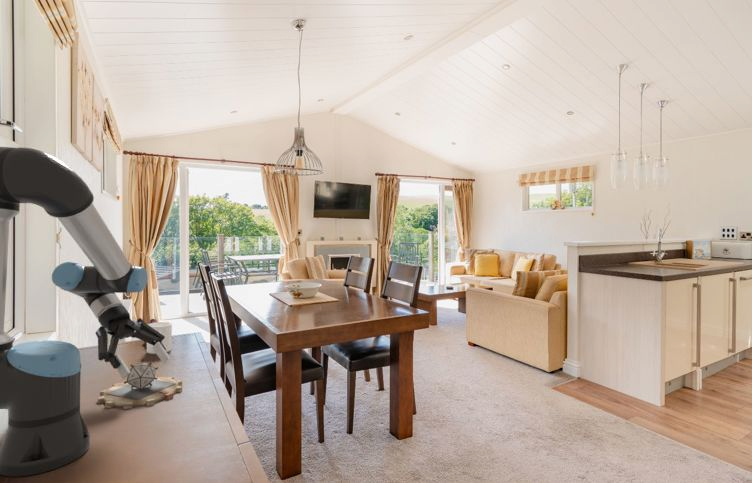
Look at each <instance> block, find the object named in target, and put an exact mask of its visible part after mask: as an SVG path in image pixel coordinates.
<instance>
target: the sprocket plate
mask: <svg viewBox="0 0 752 483" xmlns="http://www.w3.org/2000/svg"><path fill="white" fill-rule="evenodd" d="M155 378H157V380H155V379H154V380H153V381H152V383H151V384H152V386H150V384H149V385H148V386H146V387H144V388H143V389H141V390H142V391H141V392H140V389H138V388H136V387H133V388H131V387H132V385H130V384H128V383H125V384H123V383H124V382H116V383H113V384H112V386H111V387H109V388H106V389H102V390H101V391H99V396H97V403H98V404H103V403H104V407H105V408H107V409H112V408H113V407H117V408H118V407H119V408H120V407H122V408H123V410H124V409H125V410H127V409H132V408H133V407H138V406H144V405H145V406H146V407H149V406H153V405H156V404H155V403H156V402H160V401H163V400H170V399H172V398H174V395H175V394H176V393H181V392H182V390H183V380H181V379H178V380H176V379H174V378H175V377H174V376H167V377H163V376H160V377H159V376H158V375H155Z"/></svg>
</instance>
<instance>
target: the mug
mask: <svg viewBox="0 0 752 483" xmlns="http://www.w3.org/2000/svg"><path fill="white" fill-rule="evenodd" d="M172 324H173V323H172V322H168V321H160V322H159V321H157V323H151V324H150V323H147V325H149V326H150V327H152V328H153V329H155V330H156V331H158V332H159V333H160V334H162V335H163V336H164V337H165V338H164V339H163V340H162V341H161V342H162V344H163V345H164V347H165V348H166V352H167V353H169V352H170V351H171V350H172V347H173V346H172V339H173V338H172V337H173V336H172V335H173V334H172V332H173V331H172V330H173V328H172V327H173V325H172ZM154 342H155V341H154ZM146 352H147V354H149V355H157V354H156V352H155V351H154V349H153V345H151V344H149V343H147V346H146Z"/></svg>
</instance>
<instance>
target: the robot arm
mask: <svg viewBox="0 0 752 483" xmlns="http://www.w3.org/2000/svg"><path fill="white" fill-rule="evenodd" d="M94 200H95V196H94V194H93V192H92V191H91V189H90V187H89V186H88V185H87V183H86V182H85V181H84V180H83V179H82V177H81V176H79V175H78V173H76V171H74V169H72V168H71V167H69V166H68V165H67V164H65V162H63V161H62V160H60V159H58V158H57V157H55V156H53V155H51V154H49V153H47V152H44V151H42V150H40V149H34V148H32V147H11V146H10V147H7V146H0V410H7V412H8V413H7V414H8V415H7V420H8V421H7V422H8V423H7V430H6V431H5V432H6V433H5V434H4V437H3V439H2V442H1V445H0V475H2V476H5V477H13V478H14V477H15V478H16V477H17V478H18V477H27V476H34V475H39V474H42V473H46V472H49V471H53V470H56V469H58V468H60V467H63V466H66V465H68V464H70V463H72V462H73V461H75V460H77V459H79V458H80V457H82V456H83V455H84V454H85V453H86V452H87V451H88V450H89V448H90V446H91V445H90V442H91V441H90V440H91V438H90V437H91V436H90V433H89V430H88V427H87V425H86V423H85V420H84V418H83V415H82V414H81V371H82V370H81V369H82V362H81V352H80V349H79V348H78V347H77V346H76V345H74V344H73V343H71V342H67V341H61V340H40V341H38V340H33V341H26V342H22V343H18V344H16V345H14V346H13V342H14V338H13V337H12V336H10V335H9V334H8V333H6V332H5V320H6V319H5V316H6V314H5V312H6V294H7V277H8V258H9V257H8V256H9V240H10V222H11V220H12V219H13V218H15V217H16V216H17V215H19V214H20V206H21V204H32V205H36V206H39V207H41V208H43V210H44V211H45V212H46V213H47V215H48V216H49V217H52V218H55V219H57V220H58V221H59V222H60V224H61V225H62V226H63V227H64V228H65V230H66V231H67V233H68V234H69V235H70V236H71V238H72V239H73V240H74V242H75V243H76V244H77V245H78V247H79V248H80V249H81V251H82V252H83V254H84V255H85V256H86V257H87V258H88V261H90V263H91V264H92V265H90V266H89V265H87V266H86V265H81V264H80V263H78V262H77V263H76V262H74V261H66V262H62V263H60V264H59V265H58V266H55V268H54V269H53V271H52V274H51V281H52V283H53V284H54V285H55V286H57V287H58V288H60V289H61V290H63V291H65V292H69V293H71V294H74V295H76V296H78V297H80V298H82V299H83V300H84V301H85V303H86V304H87V305H88V308H89V309H90V310H91V312H92V313H93V315H94V316H95V318H96V319H97V320H98V322H99V324H100V327H99V328H98V329H96V331H95V335H96V337H97V346H98V347H97V350H98V351H97V355H98V358H97V359H98V360H99V361H103V360H104V362H105V363H110V365H111V366H112V368H113V369H116V370H117V373H119V375H120V376H121V378H122V380H124V379H127V376H128V375H129V374H130V373H131V372H130V368H129V367H128V366H127V364H126V363H125V361H124V360H123V358H122V356H121V355H120V354H119V353H116V352H117V348H118V343H119V341H120V340H124V339H127V338H133V339H134V338H135V339H137V340H140V341H143V342H144V341H145V342H147V343H149V344H151V345H153V349H154V351H155V352H156V354H155V355H157V356H158V358H159V359H160V361H161V362H162V364H163V365H166V364H167V363H168V361H170V359H171V356H170V354H169V352H166V348H165V347H164V345H163V344H162V342H161V341H162V340H163V339H164V338H165V337H164V336H163V335H162V334H160V333H159V332H158V331H156V330H155V329H153V328H152V327H150V326H149V325H148V323H146V322H145V321H144V320H143V318H141V317H138V319H136V320H132V319H131V315H130V313H129V312H128V310H127V308H126V307H125V305H124V304H123V302H122V301H121V300H120V298H119V297H118V296H117V294H118V293H119V294H122V293H123V294H130V293H141V292H143V291H144V290H145V289H146V287H147V284H148V278H149V277H148V271H147V270H146V268H144V267H142V266H137V265H134V266H133V265H132V263H131V262H130V261H129V258H127V256H126V255H125V253H124V251H123V250H122V247H121V246H120V245H119V243H118V242H117V240H116V238H115V237H114V235H113V234H112V232H111V230H110V229H109V227H108V225H107V224H106V222H105V221H104V219H103V218H102V216H101V215H100V213H99V212H98V210H97V208H96V207H95V205H94ZM116 293H117V294H116ZM108 335H110V336H111V338H110V343H109V345H108ZM154 341H155V342H154ZM108 346H109V347H108Z"/></svg>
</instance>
